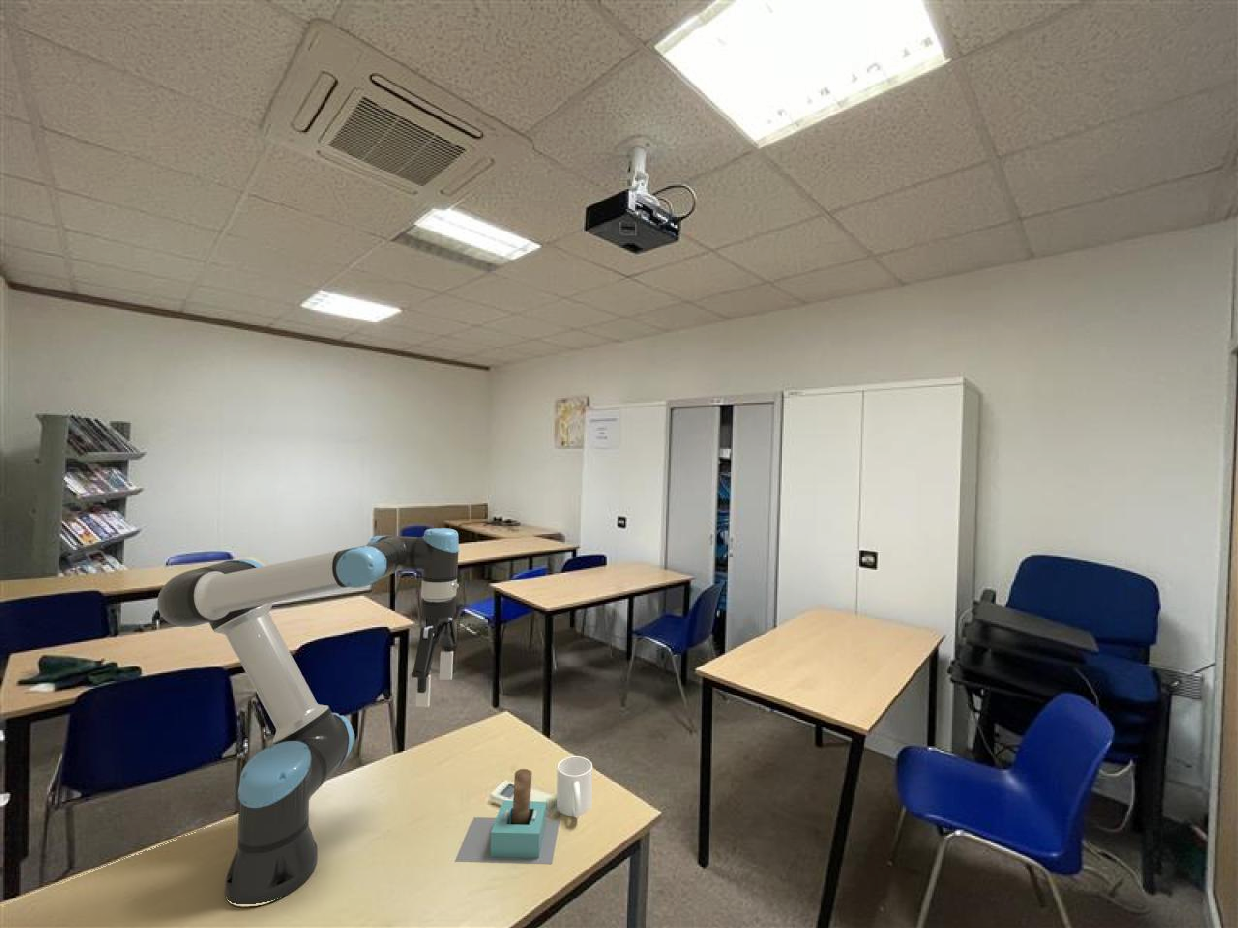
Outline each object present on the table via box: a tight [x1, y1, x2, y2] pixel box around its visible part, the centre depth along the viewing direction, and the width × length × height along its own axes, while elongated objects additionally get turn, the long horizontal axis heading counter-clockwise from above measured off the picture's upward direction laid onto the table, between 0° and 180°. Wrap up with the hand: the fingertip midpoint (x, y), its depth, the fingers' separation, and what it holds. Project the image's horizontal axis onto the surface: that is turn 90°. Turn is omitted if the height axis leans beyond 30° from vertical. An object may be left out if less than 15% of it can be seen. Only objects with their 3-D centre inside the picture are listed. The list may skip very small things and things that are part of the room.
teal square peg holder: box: [491, 799, 548, 858], centre depth 109 cm, size 10×10×6 cm
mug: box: [556, 755, 593, 819], centre depth 119 cm, size 12×8×10 cm
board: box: [454, 816, 561, 865], centre depth 109 cm, size 20×13×1 cm, turn 89°
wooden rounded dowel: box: [512, 768, 532, 825], centre depth 109 cm, size 4×4×14 cm
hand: (434, 691), depth 113 cm, fingers open, 13 cm apart
